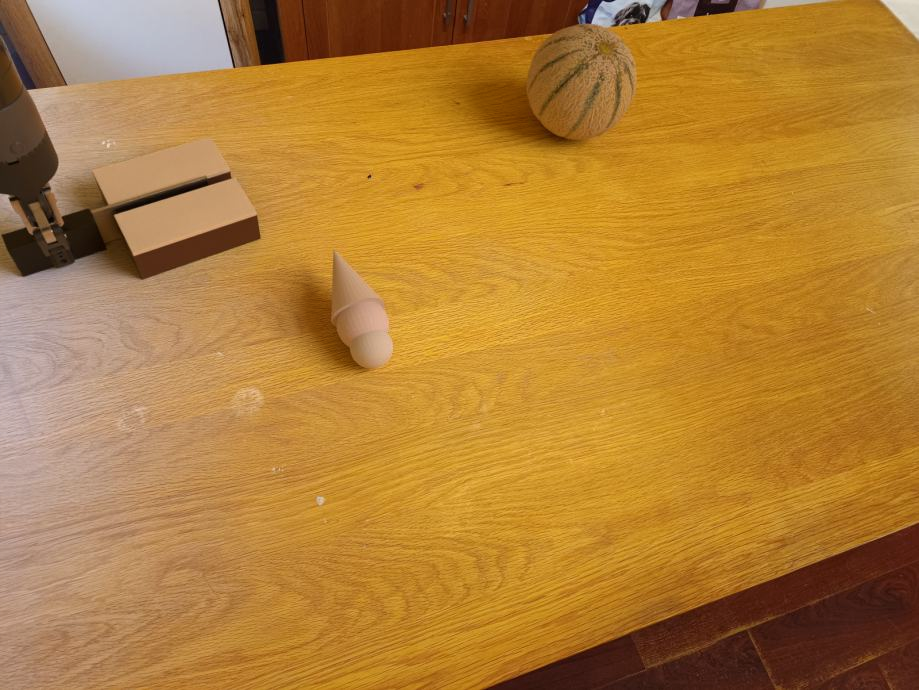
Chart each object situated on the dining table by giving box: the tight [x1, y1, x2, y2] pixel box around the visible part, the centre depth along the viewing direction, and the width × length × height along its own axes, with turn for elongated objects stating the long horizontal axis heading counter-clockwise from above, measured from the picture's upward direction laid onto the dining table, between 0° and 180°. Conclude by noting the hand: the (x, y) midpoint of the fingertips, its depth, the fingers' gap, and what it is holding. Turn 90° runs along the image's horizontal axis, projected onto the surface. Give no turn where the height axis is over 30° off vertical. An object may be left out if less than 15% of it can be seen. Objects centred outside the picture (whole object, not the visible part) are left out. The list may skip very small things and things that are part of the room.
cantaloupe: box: [525, 23, 638, 142], centre depth 100 cm, size 15×15×15 cm
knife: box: [0, 175, 209, 278], centre depth 83 cm, size 22×2×5 cm, turn 122°
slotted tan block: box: [91, 136, 261, 280], centre depth 86 cm, size 14×14×4 cm
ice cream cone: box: [330, 248, 394, 370], centre depth 80 cm, size 6×6×15 cm
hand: (60, 253), depth 83 cm, fingers closed on knife, 2 cm apart
